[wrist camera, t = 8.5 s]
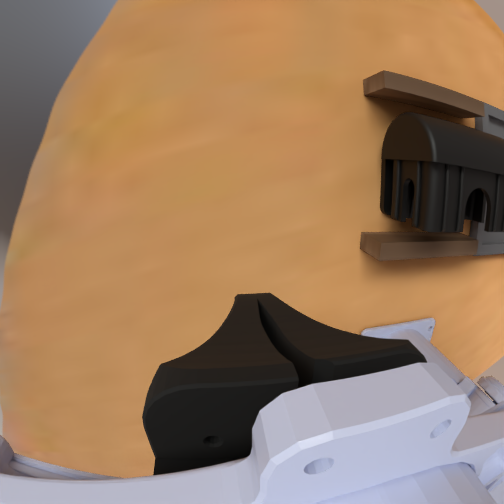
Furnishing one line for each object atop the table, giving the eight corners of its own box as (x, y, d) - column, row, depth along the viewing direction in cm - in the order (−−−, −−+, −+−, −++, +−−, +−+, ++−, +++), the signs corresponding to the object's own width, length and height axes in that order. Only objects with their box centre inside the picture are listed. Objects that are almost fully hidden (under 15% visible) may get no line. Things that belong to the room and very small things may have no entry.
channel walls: (454, 244, 23) (476, 254, 20) (359, 248, 22) (379, 260, 19) (460, 105, 19) (483, 102, 16) (363, 79, 18) (383, 70, 15)
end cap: (467, 136, 20) (524, 138, 14) (463, 215, 22) (519, 234, 16) (375, 117, 19) (433, 106, 13) (373, 213, 21) (428, 235, 15)
